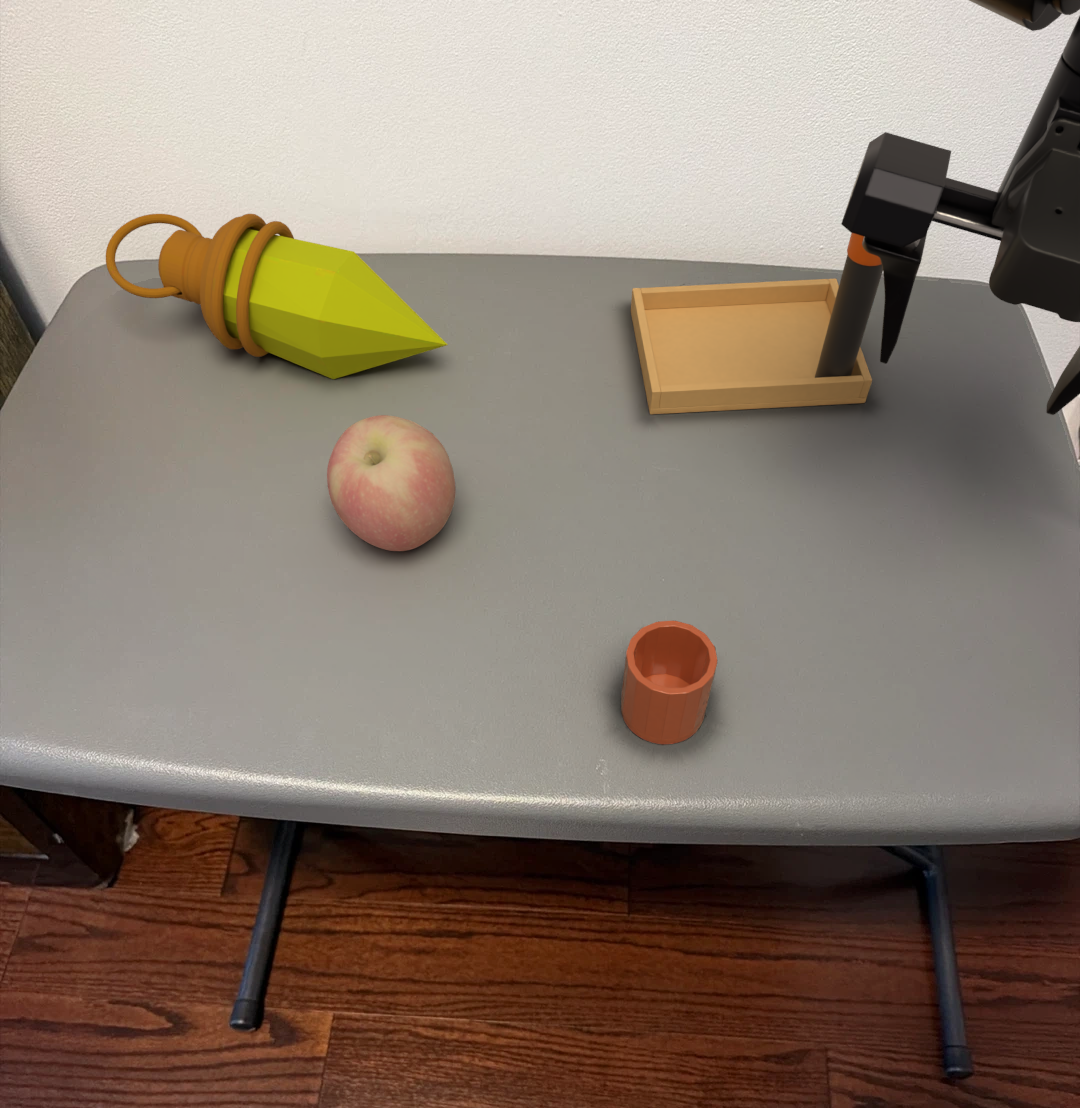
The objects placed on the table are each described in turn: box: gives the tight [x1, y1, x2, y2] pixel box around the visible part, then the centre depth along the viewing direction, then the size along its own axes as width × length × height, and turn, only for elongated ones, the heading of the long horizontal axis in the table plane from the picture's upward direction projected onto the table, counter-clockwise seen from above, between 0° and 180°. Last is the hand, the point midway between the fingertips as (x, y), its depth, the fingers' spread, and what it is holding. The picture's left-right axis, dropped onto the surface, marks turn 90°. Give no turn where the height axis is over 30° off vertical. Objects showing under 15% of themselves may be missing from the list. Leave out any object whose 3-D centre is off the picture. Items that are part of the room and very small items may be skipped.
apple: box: [326, 414, 456, 552], centre depth 66 cm, size 8×8×8 cm
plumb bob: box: [105, 213, 449, 380], centre depth 75 cm, size 9×9×25 cm
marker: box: [815, 232, 883, 378], centre depth 71 cm, size 3×3×12 cm
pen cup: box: [620, 620, 718, 745], centre depth 60 cm, size 5×5×5 cm
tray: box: [630, 278, 873, 415], centre depth 77 cm, size 15×11×2 cm
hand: (966, 384), depth 59 cm, fingers open, 9 cm apart
